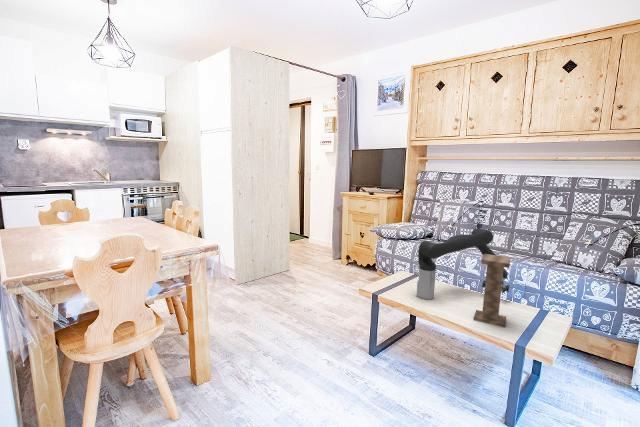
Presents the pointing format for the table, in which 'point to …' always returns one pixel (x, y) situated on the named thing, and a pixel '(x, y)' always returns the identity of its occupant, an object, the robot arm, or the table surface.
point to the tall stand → (493, 290)
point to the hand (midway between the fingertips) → (494, 290)
